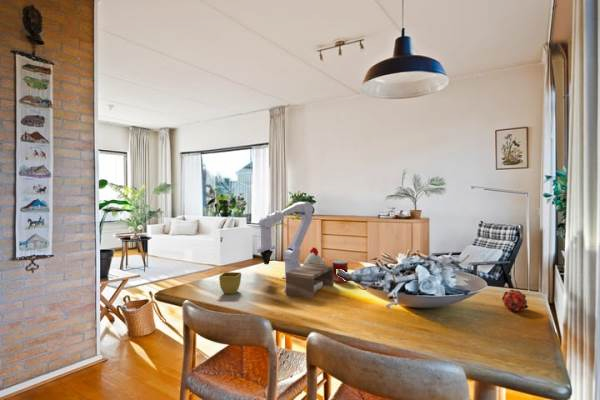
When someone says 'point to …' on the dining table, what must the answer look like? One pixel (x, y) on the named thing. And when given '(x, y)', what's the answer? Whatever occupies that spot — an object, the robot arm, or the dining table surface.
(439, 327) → the dining table surface
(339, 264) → the canned food
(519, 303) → the dragon fruit
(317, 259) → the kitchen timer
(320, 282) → the white tray
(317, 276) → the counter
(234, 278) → the flower pot
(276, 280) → the dining table surface
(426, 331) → the dining table surface
